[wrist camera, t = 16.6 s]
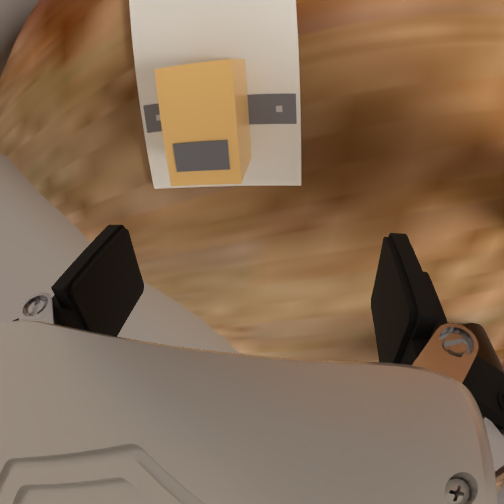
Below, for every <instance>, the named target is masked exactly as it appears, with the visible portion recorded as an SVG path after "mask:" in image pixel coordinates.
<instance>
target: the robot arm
mask: <svg viewBox="0 0 504 504" xmlns="http://www.w3.org/2000/svg"><path fill="white" fill-rule="evenodd" d="M52 290H53V292H54V294H55V295H54V296H53V298H52V297H51V295H49V294H48V293H38V294H35V295H33V296H31V297H30V298H28V299H27V300H26V301H25V302H24V303H23V304H22V306H21V307H20V311H19V318H18V319H16V320H14V321H12V322H7V323H3V324H1V325H0V504H504V373H503V372H502V371H500V370H499V369H497V368H496V367H494V366H493V365H491V364H490V363H488V362H487V361H485V360H484V359H482V358H481V357H479V356H478V355H477V352H478V348H479V346H478V341H477V339H476V337H475V335H474V334H473V333H472V332H471V331H470V330H469V329H468V328H466V327H465V326H462V325H460V324H455V323H448V322H447V320H446V317H445V314H444V311H443V309H442V306H441V304H440V301H439V299H438V296H437V294H436V291H435V289H434V286H433V284H432V281H431V279H430V277H429V275H428V273H427V272H423V271H422V269H421V266H420V264H419V262H418V259H417V257H416V255H415V252H414V250H413V248H412V246H411V244H410V241H409V239H408V237H407V235H406V234H398V233H390V234H389V237H384V239H383V243H382V249H381V254H380V259H379V264H378V269H377V274H376V279H375V284H374V288H373V293H372V297H371V309H372V315H373V322H374V328H375V334H376V341H377V348H378V355H379V362H358V361H330V360H312V359H294V358H280V357H267V356H255V355H245V354H235V353H225V352H216V351H208V350H199V349H192V348H184V347H177V346H170V345H164V344H157V343H151V342H144V341H138V340H132V339H127V338H121V337H117V335H118V334H119V332H120V330H121V328H122V327H123V325H124V323H125V322H126V320H127V318H128V316H129V315H130V313H131V311H132V310H133V308H134V306H135V305H136V303H137V301H138V300H139V298H140V296H141V295H142V293H143V290H144V283H143V280H142V276H141V273H140V270H139V266H138V263H137V260H136V256H135V253H134V249H133V246H132V242H131V238H130V235H129V231H128V230H127V229H125V227H124V226H123V225H108V226H107V227H106V228H105V229H104V230H103V231H102V232H101V233H100V234H99V235H98V236H97V237H96V238H95V240H94V241H93V242H92V243H91V244H90V245H89V246H88V247H87V248H86V249H85V250H84V251H83V252H82V253H81V255H80V256H79V257H78V258H77V259H76V260H75V261H74V262H73V263H72V265H71V266H70V267H69V268H68V269H67V270H66V271H65V273H63V275H62V276H61V277H60V278H59V279H58V280H57V282H56V283H55V284H54V285H53V286H52ZM448 480H449V481H448Z"/></svg>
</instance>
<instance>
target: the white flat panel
mask: <svg viewBox="0 0 504 504" xmlns="http://www.w3.org/2000/svg"><path fill="white" fill-rule="evenodd" d="M129 6H130V20H131V32H132V43H133V53H134V62H135V71H136V79H137V87H138V95H139V102H140V109H141V116H142V122H143V129H144V135H145V141H146V147H147V153H148V159H149V164H150V170H151V175H152V180H153V186H154V189H163V188H184V187H211V186H301V107H300V74H299V50H298V30H297V13H296V0H129ZM226 59H245V67H246V82H247V96H248V111H249V126H250V142H251V157H252V158H251V160H250V163H249V166H248V168H247V171H246V173H245V176H244V178H243V181H242V184H215V185H188V186H171V183H170V177H169V171H168V165H167V159H166V153H165V146H164V140H163V133H162V126H161V119H160V112H159V104H158V97H157V89H156V80H155V72H154V69H159V68H165V67H171V66H177V65H184V64H191V63H198V62H207V61H216V60H226Z"/></svg>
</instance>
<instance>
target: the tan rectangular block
mask: <svg viewBox="0 0 504 504" xmlns="http://www.w3.org/2000/svg"><path fill="white" fill-rule="evenodd" d="M154 72H155V80H156V89H157V97H158V104H159V112H160V119H161V126H162V133H163V140H164V146H165V153H166V159H167V165H168V171H169V177H170V183H171V186H188V185H215V184H242V181H243V178H244V176H245V173H246V171H247V168H248V166H249V163H250V160H251V158H252V157H251V142H250V126H249V111H248V96H247V82H246V67H245V59H226V60H216V61H207V62H198V63H191V64H184V65H177V66H171V67H165V68H159V69H154Z"/></svg>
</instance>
